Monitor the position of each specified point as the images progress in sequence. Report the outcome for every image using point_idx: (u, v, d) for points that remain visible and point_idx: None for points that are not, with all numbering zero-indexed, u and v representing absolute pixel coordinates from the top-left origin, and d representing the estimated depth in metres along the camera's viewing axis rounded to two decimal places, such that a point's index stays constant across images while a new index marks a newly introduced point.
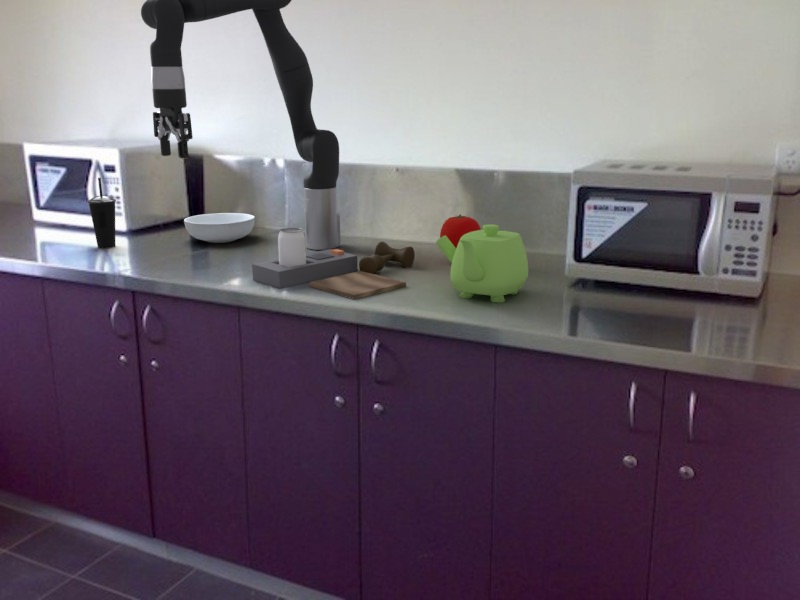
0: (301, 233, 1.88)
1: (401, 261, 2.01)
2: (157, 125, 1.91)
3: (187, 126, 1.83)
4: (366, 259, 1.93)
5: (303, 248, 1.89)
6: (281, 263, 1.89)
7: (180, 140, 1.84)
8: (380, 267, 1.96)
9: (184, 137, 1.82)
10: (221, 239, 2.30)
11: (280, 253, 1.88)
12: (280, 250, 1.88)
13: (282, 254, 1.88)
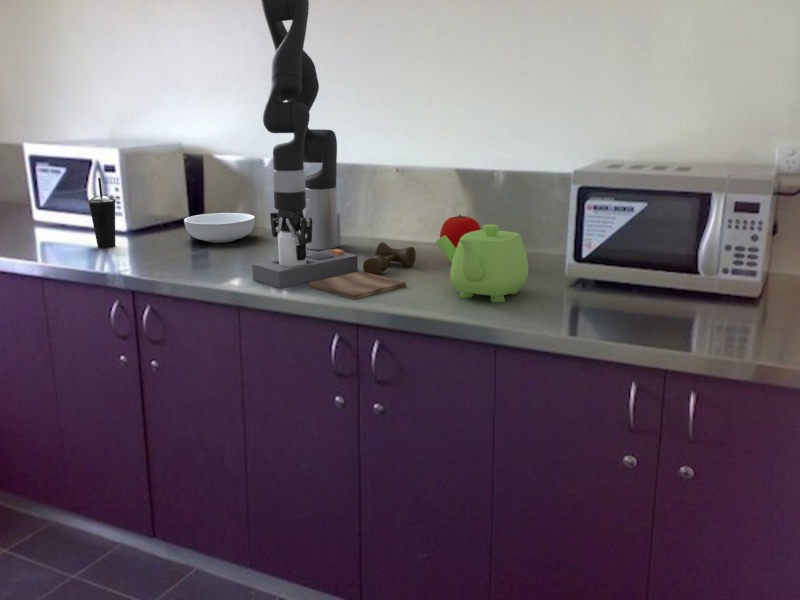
0: None
1: (403, 261, 2.01)
2: (275, 225, 1.92)
3: (308, 231, 1.84)
4: (371, 260, 1.92)
5: None
6: (281, 263, 1.89)
7: (299, 243, 1.86)
8: (384, 268, 1.95)
9: (304, 241, 1.84)
10: (221, 239, 2.30)
11: (280, 253, 1.88)
12: (280, 250, 1.88)
13: (282, 254, 1.88)
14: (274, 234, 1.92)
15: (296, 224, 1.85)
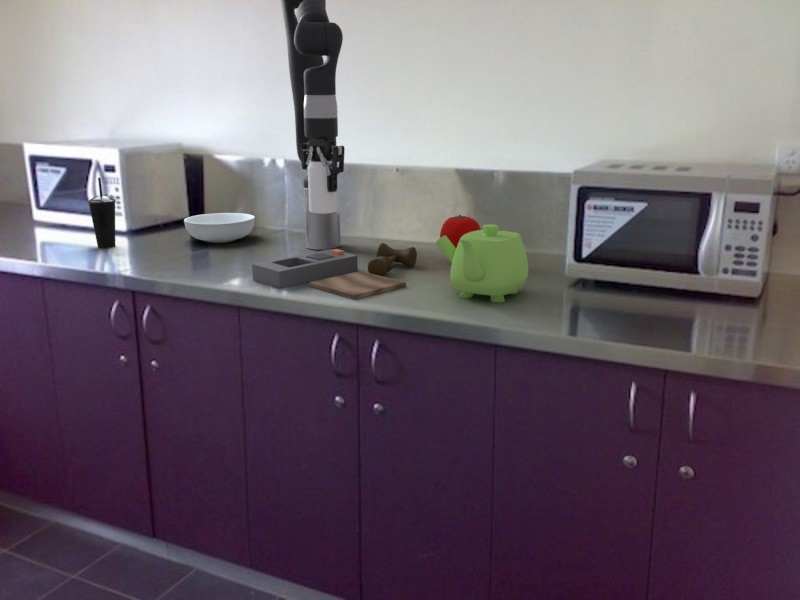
0: None
1: (405, 261, 2.01)
2: (305, 157, 1.83)
3: (340, 160, 1.75)
4: (376, 261, 1.91)
5: None
6: (311, 195, 1.79)
7: (331, 173, 1.76)
8: (388, 268, 1.95)
9: (336, 170, 1.75)
10: (221, 239, 2.30)
11: (310, 184, 1.79)
12: (310, 181, 1.79)
13: (311, 185, 1.79)
14: (304, 166, 1.83)
15: (327, 153, 1.76)
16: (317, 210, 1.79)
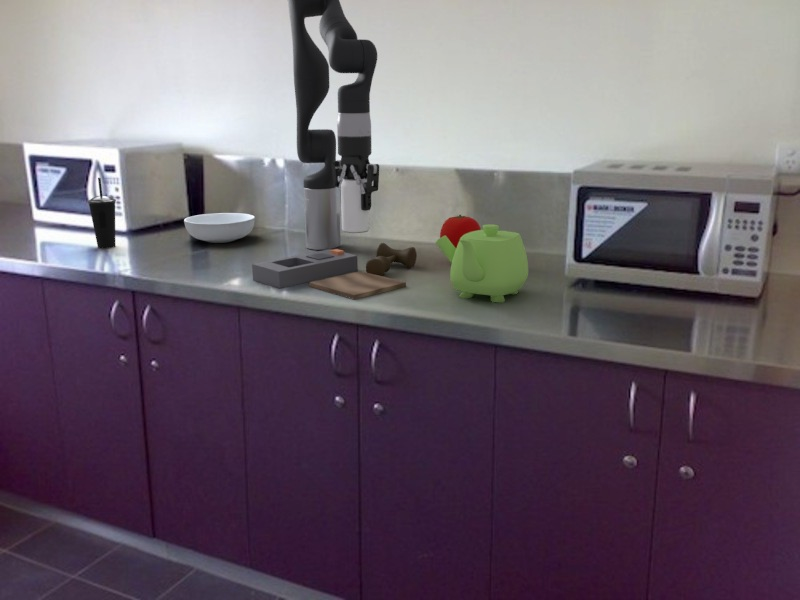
0: None
1: (404, 262, 2.00)
2: (337, 174, 1.81)
3: (375, 178, 1.73)
4: (374, 261, 1.91)
5: None
6: (344, 213, 1.77)
7: (365, 192, 1.74)
8: (387, 269, 1.95)
9: (371, 189, 1.73)
10: (221, 239, 2.30)
11: (343, 203, 1.77)
12: (343, 199, 1.77)
13: (345, 204, 1.77)
14: (336, 184, 1.81)
15: (361, 171, 1.74)
16: (350, 229, 1.78)
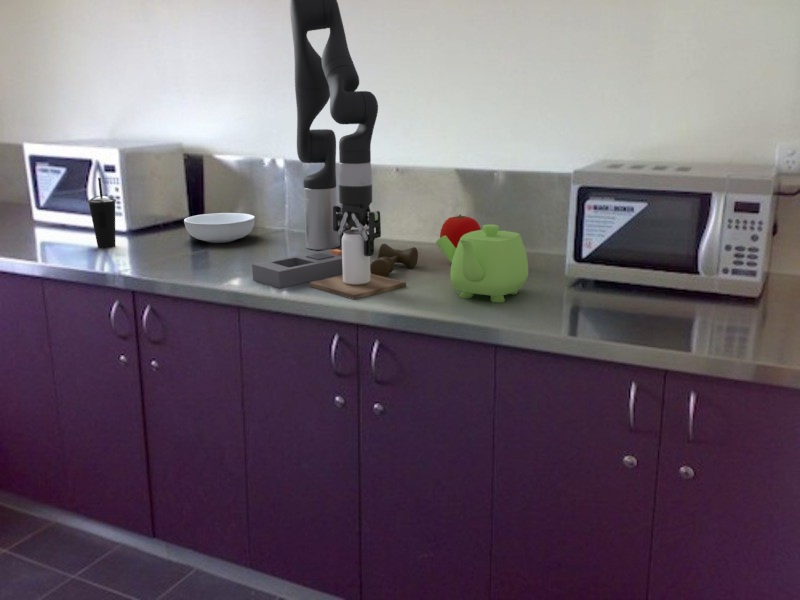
0: None
1: (407, 262, 2.00)
2: (337, 219, 1.84)
3: (377, 225, 1.75)
4: (379, 262, 1.90)
5: None
6: (345, 266, 1.81)
7: (368, 239, 1.77)
8: (390, 269, 1.94)
9: (373, 236, 1.75)
10: (221, 239, 2.30)
11: (344, 256, 1.80)
12: (344, 253, 1.80)
13: (346, 257, 1.80)
14: (335, 228, 1.84)
15: (363, 218, 1.77)
16: (351, 281, 1.81)
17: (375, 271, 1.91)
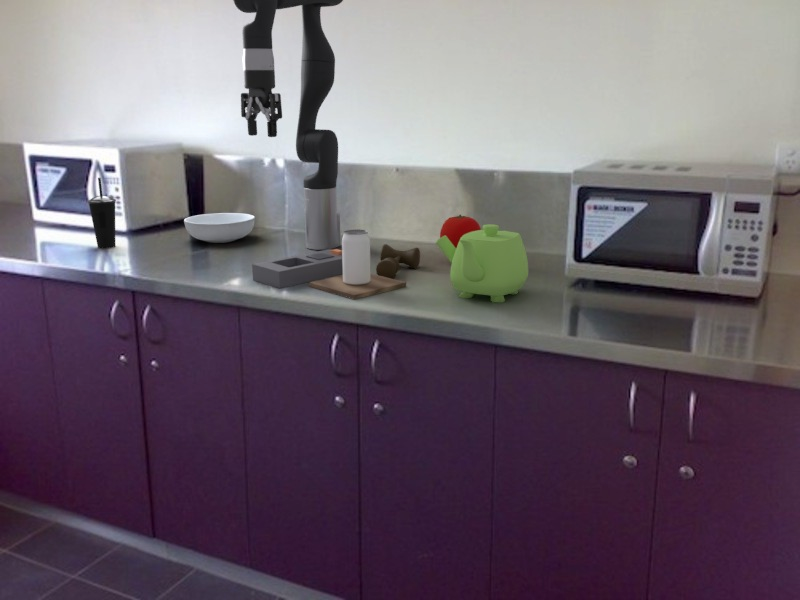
0: (366, 235, 1.80)
1: (410, 262, 2.00)
2: (245, 106, 1.98)
3: (278, 106, 1.90)
4: (385, 262, 1.89)
5: (368, 251, 1.81)
6: (345, 266, 1.81)
7: (270, 119, 1.91)
8: (396, 270, 1.93)
9: (275, 116, 1.90)
10: (221, 239, 2.30)
11: (344, 256, 1.80)
12: (344, 253, 1.80)
13: (346, 257, 1.80)
14: (243, 114, 1.99)
15: (265, 101, 1.92)
16: (351, 281, 1.81)
17: (382, 272, 1.90)
